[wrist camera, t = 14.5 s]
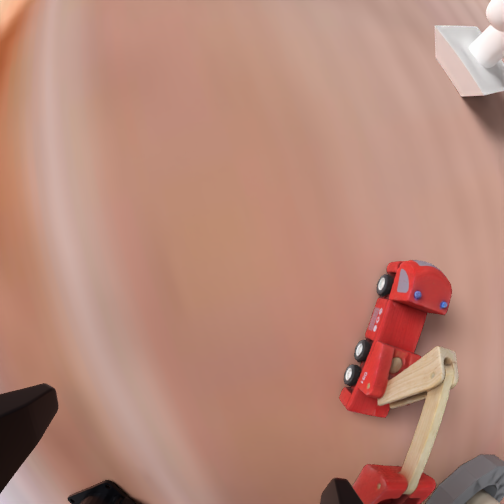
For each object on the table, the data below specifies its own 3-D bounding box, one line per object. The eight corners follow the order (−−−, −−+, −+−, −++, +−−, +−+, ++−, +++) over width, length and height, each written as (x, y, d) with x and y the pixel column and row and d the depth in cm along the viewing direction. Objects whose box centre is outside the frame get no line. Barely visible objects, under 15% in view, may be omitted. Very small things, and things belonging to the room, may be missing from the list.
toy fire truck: (423, 271, 20) (524, 268, 10) (352, 447, 19) (406, 528, 9) (385, 255, 20) (482, 241, 10) (311, 440, 19) (352, 531, 9)
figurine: (502, 100, 21) (593, 37, 6) (453, 115, 21) (568, 26, 6) (465, 44, 21) (538, -33, 6) (409, 48, 21) (489, -60, 6)
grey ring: (435, 536, 18) (446, 550, 15) (408, 509, 18) (421, 526, 15) (502, 477, 19) (516, 487, 16) (487, 438, 19) (505, 449, 16)
